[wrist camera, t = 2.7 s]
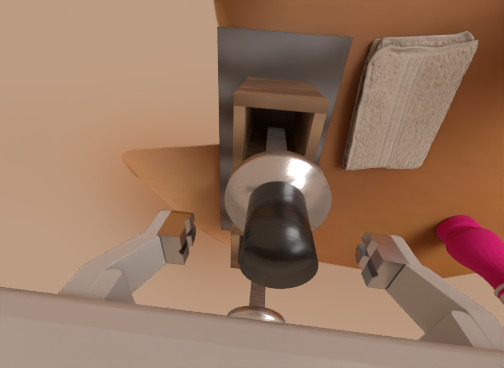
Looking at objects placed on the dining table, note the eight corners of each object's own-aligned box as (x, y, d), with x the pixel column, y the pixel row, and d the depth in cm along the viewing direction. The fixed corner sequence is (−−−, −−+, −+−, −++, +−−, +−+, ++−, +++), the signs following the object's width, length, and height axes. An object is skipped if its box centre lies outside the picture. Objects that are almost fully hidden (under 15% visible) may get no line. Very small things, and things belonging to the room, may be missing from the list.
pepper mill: (428, 242, 43) (528, 366, 26) (436, 215, 39) (559, 341, 22) (470, 238, 41) (603, 368, 25) (482, 210, 38) (650, 341, 21)
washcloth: (470, 30, 25) (493, 28, 22) (414, 164, 34) (426, 174, 32) (364, 37, 26) (374, 36, 23) (339, 165, 36) (345, 175, 33)
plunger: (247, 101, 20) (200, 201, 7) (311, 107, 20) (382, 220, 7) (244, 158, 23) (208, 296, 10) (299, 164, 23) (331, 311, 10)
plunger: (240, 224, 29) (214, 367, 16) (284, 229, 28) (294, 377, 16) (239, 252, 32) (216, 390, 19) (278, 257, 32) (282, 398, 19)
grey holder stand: (220, 27, 26) (179, 13, 15) (349, 38, 26) (408, 31, 14) (222, 224, 45) (205, 283, 34) (297, 232, 44) (305, 295, 33)
